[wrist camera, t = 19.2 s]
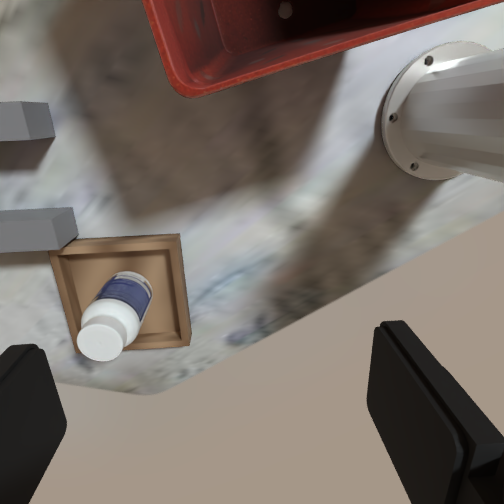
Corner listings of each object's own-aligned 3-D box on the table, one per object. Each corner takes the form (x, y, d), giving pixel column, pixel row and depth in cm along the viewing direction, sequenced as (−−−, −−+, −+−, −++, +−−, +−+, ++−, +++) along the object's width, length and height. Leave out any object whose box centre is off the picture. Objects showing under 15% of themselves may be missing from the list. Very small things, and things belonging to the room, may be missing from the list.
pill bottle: (106, 266, 38) (67, 313, 29) (155, 273, 39) (132, 321, 30) (104, 308, 40) (67, 364, 31) (151, 314, 41) (128, 371, 32)
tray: (179, 233, 38) (176, 241, 35) (191, 333, 43) (189, 345, 40) (58, 239, 37) (47, 248, 35) (84, 340, 42) (76, 353, 40)
